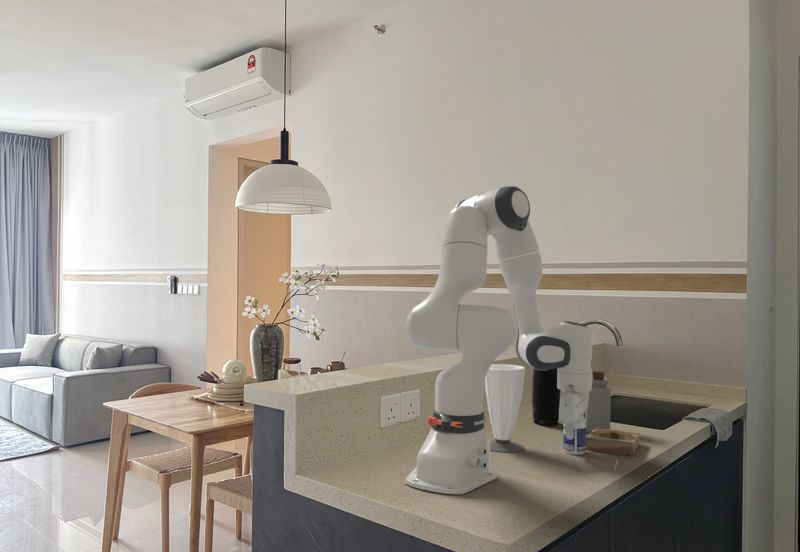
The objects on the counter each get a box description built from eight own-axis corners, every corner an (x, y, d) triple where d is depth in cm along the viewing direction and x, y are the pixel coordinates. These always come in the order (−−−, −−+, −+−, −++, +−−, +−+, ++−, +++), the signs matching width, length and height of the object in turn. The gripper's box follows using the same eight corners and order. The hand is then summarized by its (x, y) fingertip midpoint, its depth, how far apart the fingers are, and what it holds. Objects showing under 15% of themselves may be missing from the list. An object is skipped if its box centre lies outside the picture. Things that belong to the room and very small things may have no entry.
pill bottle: (583, 449, 161) (583, 412, 161) (587, 455, 156) (588, 417, 156) (561, 448, 162) (561, 411, 162) (565, 454, 156) (565, 416, 156)
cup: (509, 439, 170) (510, 363, 170) (533, 450, 160) (534, 368, 160) (473, 443, 166) (474, 364, 166) (495, 454, 155) (497, 370, 155)
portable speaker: (535, 426, 187) (535, 363, 187) (529, 419, 196) (530, 359, 196) (562, 427, 186) (563, 363, 187) (556, 420, 196) (556, 360, 196)
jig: (632, 456, 156) (632, 443, 156) (585, 449, 161) (585, 436, 161) (639, 444, 168) (639, 431, 168) (594, 438, 174) (594, 426, 174)
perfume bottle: (586, 432, 180) (587, 372, 181) (585, 427, 187) (585, 369, 187) (610, 434, 179) (610, 373, 179) (607, 428, 185) (608, 370, 186)
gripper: (578, 390, 149) (577, 446, 149) (593, 378, 167) (592, 428, 167) (553, 387, 152) (552, 442, 151) (570, 376, 170) (569, 425, 170)
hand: (573, 434), depth 159 cm, fingers open, 8 cm apart
